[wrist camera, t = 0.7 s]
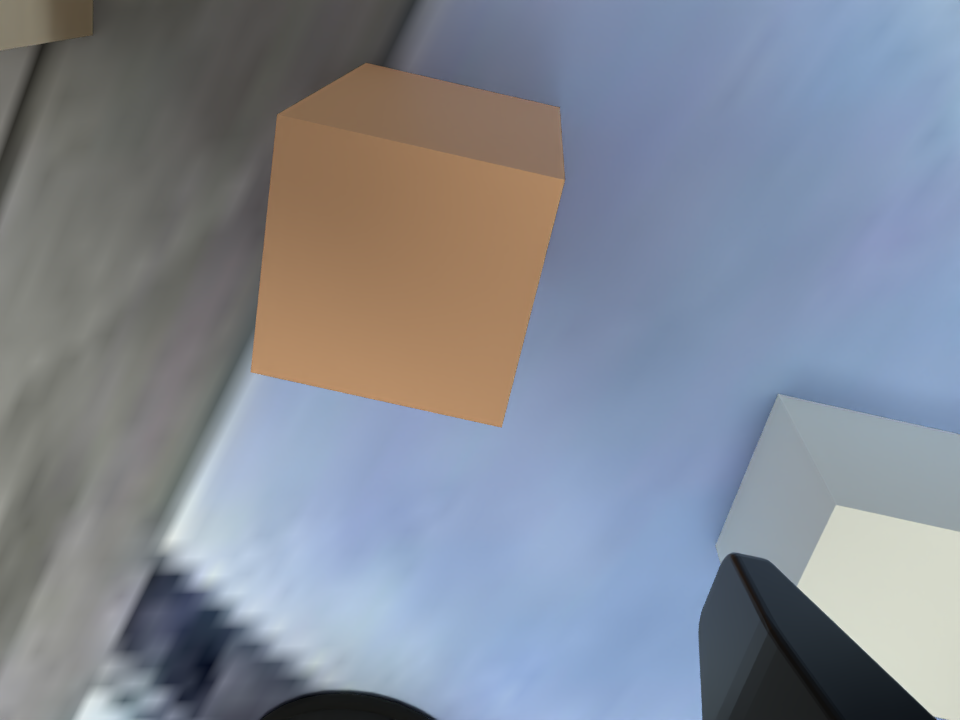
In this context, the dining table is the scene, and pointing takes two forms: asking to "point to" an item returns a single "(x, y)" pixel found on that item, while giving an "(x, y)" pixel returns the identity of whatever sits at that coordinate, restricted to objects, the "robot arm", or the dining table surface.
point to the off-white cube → (863, 534)
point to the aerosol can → (344, 709)
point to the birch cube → (43, 21)
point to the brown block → (407, 240)
